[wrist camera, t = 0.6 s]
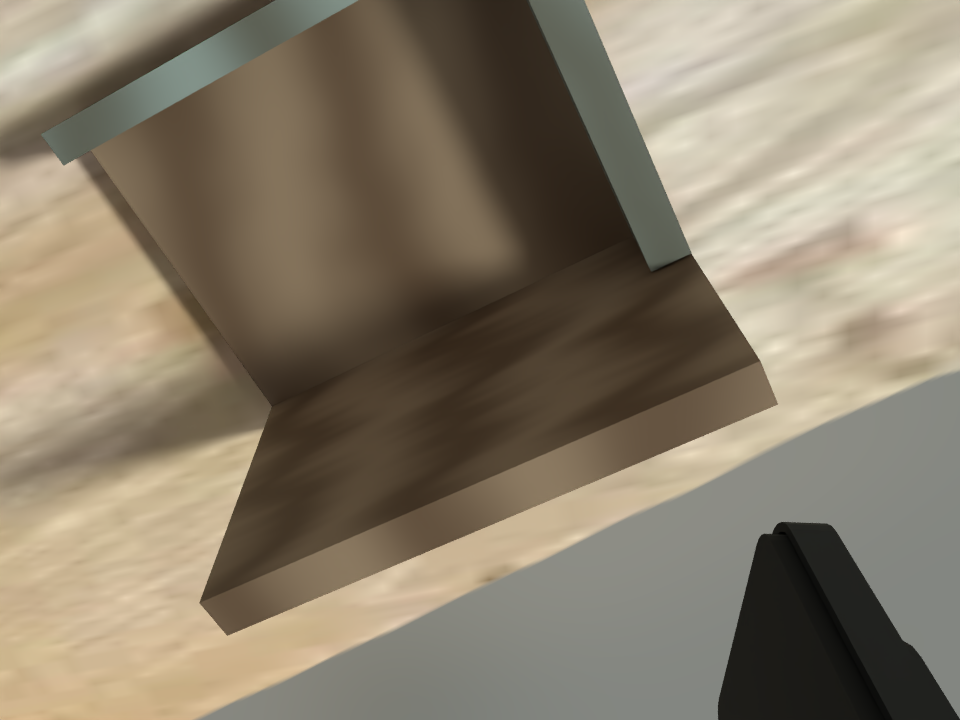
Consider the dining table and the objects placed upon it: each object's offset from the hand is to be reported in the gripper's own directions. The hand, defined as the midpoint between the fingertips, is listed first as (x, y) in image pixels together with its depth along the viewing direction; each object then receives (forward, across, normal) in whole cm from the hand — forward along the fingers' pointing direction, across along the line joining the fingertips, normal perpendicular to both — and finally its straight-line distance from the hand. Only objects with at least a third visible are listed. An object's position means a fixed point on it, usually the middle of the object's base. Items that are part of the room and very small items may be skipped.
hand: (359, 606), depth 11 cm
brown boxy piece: (+26, +2, +2) cm, 27 cm away
